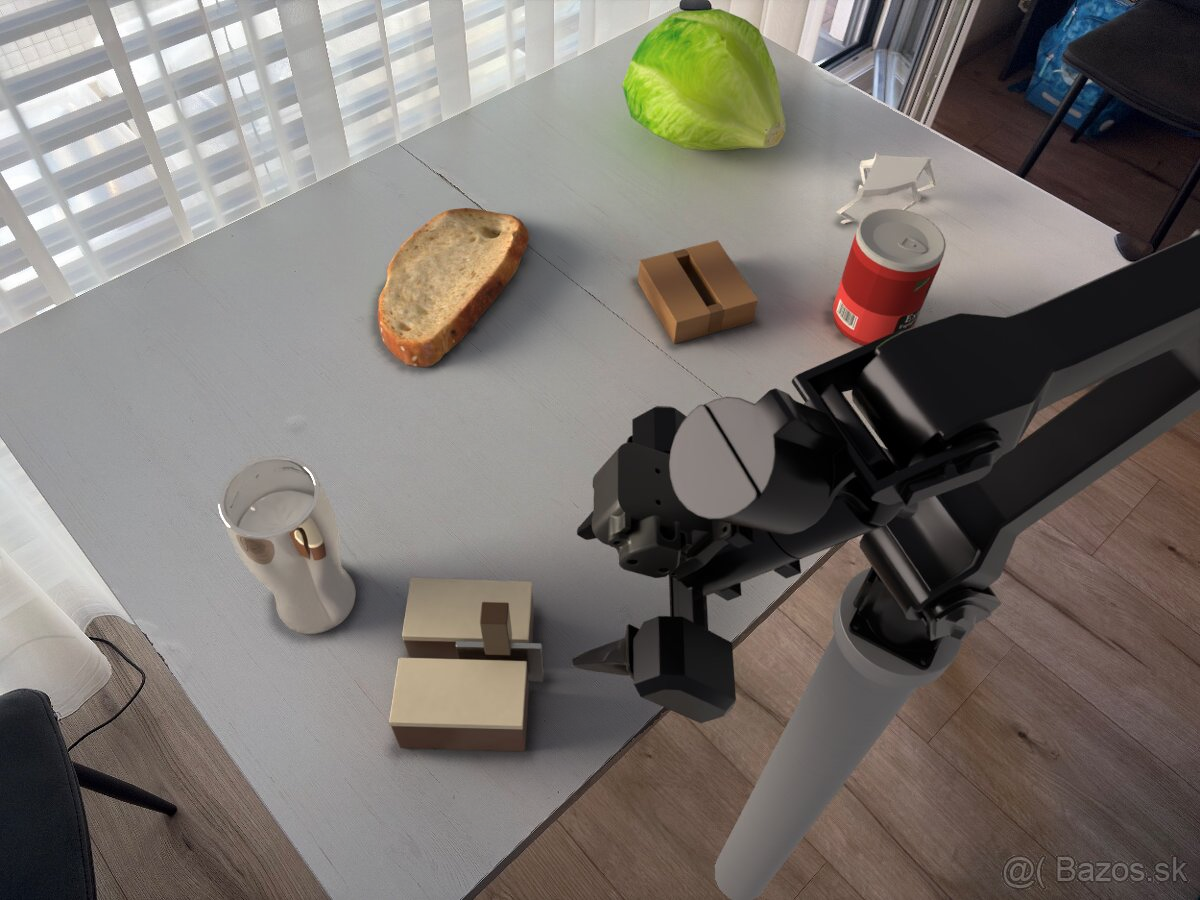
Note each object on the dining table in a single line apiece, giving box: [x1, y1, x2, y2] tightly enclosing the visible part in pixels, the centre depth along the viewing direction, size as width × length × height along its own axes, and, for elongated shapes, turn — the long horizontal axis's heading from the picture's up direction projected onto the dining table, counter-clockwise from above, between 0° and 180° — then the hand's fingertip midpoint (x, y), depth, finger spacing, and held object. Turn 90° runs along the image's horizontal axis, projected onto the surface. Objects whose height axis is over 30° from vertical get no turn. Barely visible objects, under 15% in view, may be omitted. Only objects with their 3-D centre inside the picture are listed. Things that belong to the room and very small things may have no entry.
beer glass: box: [218, 454, 357, 635], centre depth 70 cm, size 7×7×15 cm
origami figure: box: [836, 152, 937, 225], centre depth 103 cm, size 12×8×5 cm
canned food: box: [832, 208, 947, 346], centre depth 91 cm, size 8×8×11 cm
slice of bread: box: [377, 207, 530, 368], centre depth 95 cm, size 18×18×4 cm
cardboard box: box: [637, 240, 759, 345], centre depth 95 cm, size 9×9×3 cm
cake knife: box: [456, 602, 544, 683], centre depth 68 cm, size 6×2×11 cm, turn 89°
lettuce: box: [621, 8, 786, 152], centre depth 107 cm, size 15×20×14 cm
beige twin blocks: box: [388, 577, 535, 752], centre depth 71 cm, size 9×11×5 cm
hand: (579, 597), depth 62 cm, fingers open, 9 cm apart
